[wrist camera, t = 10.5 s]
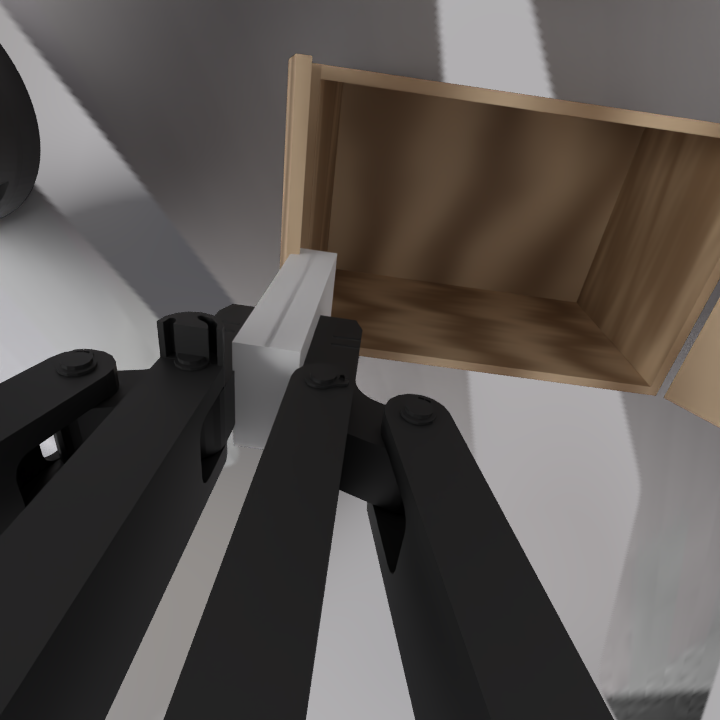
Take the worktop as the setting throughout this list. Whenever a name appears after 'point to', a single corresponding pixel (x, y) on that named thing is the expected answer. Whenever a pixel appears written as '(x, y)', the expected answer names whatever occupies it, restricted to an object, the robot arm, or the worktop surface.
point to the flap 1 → (295, 153)
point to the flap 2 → (701, 374)
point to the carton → (511, 227)
